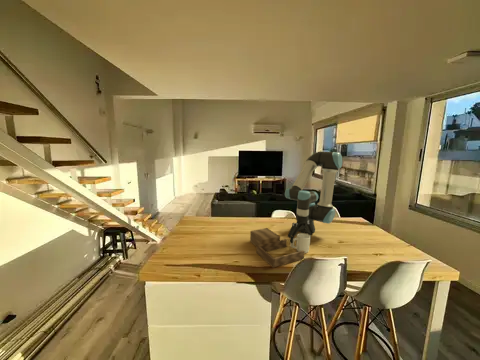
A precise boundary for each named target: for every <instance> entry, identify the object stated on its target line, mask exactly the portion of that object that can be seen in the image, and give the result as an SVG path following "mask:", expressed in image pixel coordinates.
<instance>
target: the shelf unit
mask: <svg viewBox="0 0 480 360" xmlns="http://www.w3.org/2000/svg"><path fill="white" fill-rule="evenodd" d="M249 236H250V238H249V242H250V243H251V244H252V245H253V246H255V247H256V254H257V255H258V256H259V257H260V258H261V259H263V261H265V262H266V263H267V264H268V265H269V266H271V268H277V267H279V266H283V265H287V264H291V263H293V262H298V261H300V260H304V259H305V253H304V252H305V251H304V250H302V251H299V252H298V251H296V252H291V253H288V254H284V255H280V256H276V257H273V256H272V255H271V254H269V253H268V252H270V251H274V250H278V249H282V248H283V249H284V248H286V247H287V245H288V244H287V242H288V239H285V238H284V239H281V235H279V234H277V233H275V232H274V230H273V231H272V229H269V227H265V228H264V227H263V228H260V229H254V230H250V235H249ZM303 258H304V259H303Z"/></svg>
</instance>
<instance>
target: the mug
mask: <svg viewBox="0 0 480 360" xmlns="http://www.w3.org/2000/svg"><path fill="white" fill-rule="evenodd" d="M295 241H296V245H294V248H293V249H296V252H299V251H302V250H304V251H305V252H304V254H306V253H307V254H308V253H309V251H310V245H311V239H310V236H309V235H308V233H302V232H299V233H297V234H296V237H294V242H295ZM309 244H310V245H309Z"/></svg>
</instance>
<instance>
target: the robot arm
mask: <svg viewBox="0 0 480 360" xmlns="http://www.w3.org/2000/svg"><path fill="white" fill-rule="evenodd" d="M304 162H305V163H304V166H303V168H302V170H301V172H300V173H299V174H298V175H297V177H296V180H295V181H294V182H293V184H292V186H291V187H289V188H286V189H285V192H284V197H285V198H286V199H288V200H293V201H297V203H296V205H297V206H296V218H295V219H296V222H292V224H291V228H290V229H289V232H288V233H287V238H288V239H289V243H290V244H289V247H290V248H291V249H295V248H294V246H295V241H294V238H296V236H297V234H298V232H299V233H304V234H308V235H309V236H310V240H311V239H312V236H313V234H314V233H315V232H316V227H315V223H314V221H316V222H320V223H323V224H331V223H332V222H333V221H334V218H335V216H336V210H335V209H334V206H333V204H332V202H333V194H334V188H335V180H336V173H338V172H339V169H341V168H342V166H343V157H342V154H341V153H340V152H336V151H321V150H320V151H316V152H314V153H313V154H311V155H310V156H309V157H308V158H307V159H306V160H305V161H304ZM319 167H321V169H322V171H323V174H322V179H321V180H322V181H321V188H320V189H321V190H320V196H319V194H318V193H317V192H316V191H313V190H312V191H309V190H303V189H304V188H305V187H306V184H307V183H308V181H309V179H310V177H311V176H312V173H313V172H314V170H316V169H317V168H319ZM318 199H319V202H317V201H318ZM316 202H317V203H316ZM310 245H311V243H310V244H309V246H310Z"/></svg>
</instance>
